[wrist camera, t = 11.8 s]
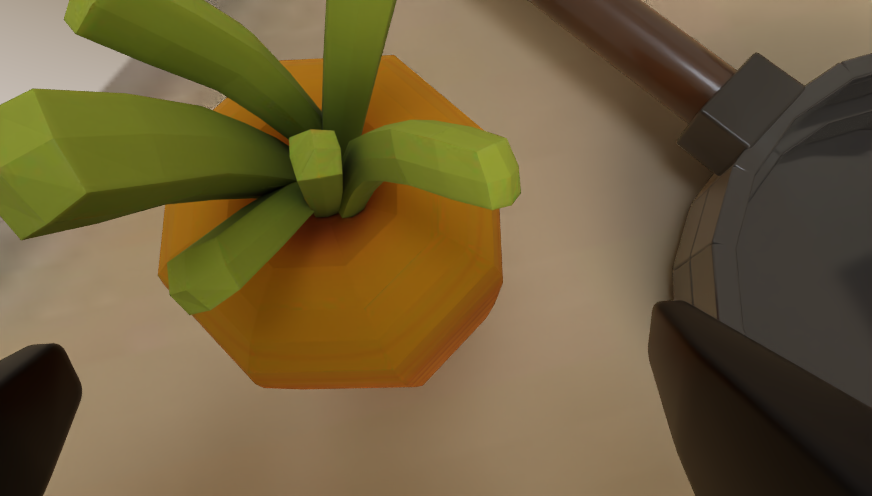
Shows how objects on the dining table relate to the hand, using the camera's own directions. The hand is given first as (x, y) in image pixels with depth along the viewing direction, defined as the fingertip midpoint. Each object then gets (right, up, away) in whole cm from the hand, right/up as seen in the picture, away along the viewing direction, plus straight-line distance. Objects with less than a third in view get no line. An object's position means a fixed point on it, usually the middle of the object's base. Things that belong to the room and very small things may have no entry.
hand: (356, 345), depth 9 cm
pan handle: (+6, +8, +9) cm, 14 cm away
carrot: (0, -1, +9) cm, 9 cm away
